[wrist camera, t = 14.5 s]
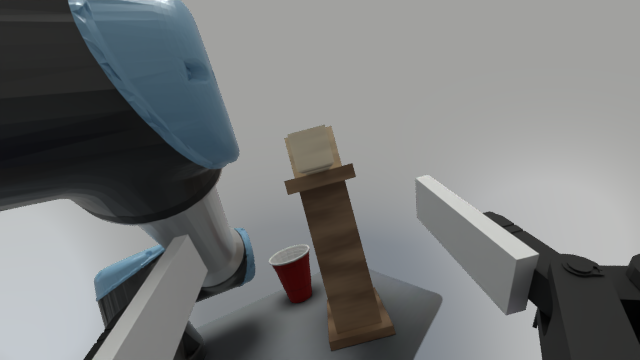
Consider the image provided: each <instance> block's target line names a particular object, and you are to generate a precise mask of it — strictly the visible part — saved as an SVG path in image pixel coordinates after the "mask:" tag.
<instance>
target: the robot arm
mask: <svg viewBox="0 0 640 360" xmlns="http://www.w3.org/2000/svg"><path fill="white" fill-rule="evenodd" d="M238 156H239V148H238V144H237V141H236V138H235V135H234V132H233V129H232V126H231V123H230V120H229V117H228V114H227V111H226V108H225V105H224V102H223V99H222V96H221V93H220V91H219V88H218V85H217V82H216V79H215V76H214V73H213V70H212V67H211V64H210V61H209V59H208V56H207V53H206V50H205V47H204V44H203V42H202V39H201V36H200V33H199V31H198V28H197V25H196V23H195V21H194V18H193V16H192V14H191V13H190V11H189V9H188V8H187V7H186V6H185V4H184V3H183V2H182V1H181V0H0V211H4V210H8V209H13V208H18V207H22V206H27V205H32V204H37V203H42V202H46V201H51V200H57V199H71V200H72V201H74V202H75V203H76V204H78V205H79V206H80V207H82V208H83V209H85V210H86V211H88V212H89V213H91V214H92V215H94V216H96V217H98V218H100V219H102V220H104V221H107V222H111V223H116V224H123V225H138V226H140V227H141V228H142V229H143V230H144V231H145V232H146V233H148V234H149V235H150V236H151V237H152V238H153V239H154V240H155V241H156V242H158V243H159V244H160V245H157V246H154V247H152V248H149V249H147V250H144V251H142V252H139V253H137V254H135V255H132V256H130V257H128V258H126V259H124V260H121V261H119V262H117V263H115V264H112V265H111V266H108V267H106V268H104V269H103V270H101V271H100V272H99V273H98V274H97V275H96V277H95V279H94V284H95V290H96V296H97V298H96V301H98V304H99V308H100V312H101V315H102V319H103V322H104V326H105V330H104V332H103V333H102V334H101V336H100V337H99V338H98V340H97V343H95V344H94V345H93V347H92V348H91V350H90V351H89V353H88V354H87V355H86V357H85V358H84V360H203V359H204V357H205V353H206V349H205V345H204V342H203V339H202V337H201V336H200V334H199V333H198V332H197V331H196V329H195V328H194V327H193V325H192V324H191V323H190V321H189V320H188V319H189V317H190V314H191V312H192V310H193V307H194V304H195V303H196V302H199V301H202V300H204V299H207V298H209V297H212V296H214V295H217V294H220V293H222V292H225V291H228V290H230V289H233V288H235V287H240V286H242V285H243V284H245V283H247V282H249V281H251V280H252V279H253V278H254V276H255V264H254V255H253V250H252V246H251V243H250V240H249V237H248V234H247V232H246V231H245V229H243V228H234V229H233V228H231V227H229V226H228V223H227V219H226V217H225V213H224V210H223V207H222V204H221V201H220V198H219V195H218V192H217V189H216V184H217V182H218V181H219V178H220V176H221V173H222V169H223V167H225V166H226V165H227V164H228V163H232V162H234V161H236V160H237V158H238ZM415 179H416V207H417V218H418V219H419V220H420V221H421V222H422V223H423V225H424V226H425V227H426V228H427V229H428V230H429V231H430V232H431V233H432V235H433V236H434V237H435V238H436V239H437V240H438V241H439V242H440V243H441V244H442V246H443V247H444V248H445V249H446V250H447V251H448V252H449V253H450V254H451V255H452V256H453V258H454V259H455V260H456V261H457V262H458V263H459V264H460V265H461V266H462V267H463V269H464V270H465V271H466V272H467V273H468V274H469V275H470V276H471V277H472V279H473V280H474V281H475V282H476V283H477V284H478V285H479V286H480V287H481V288H482V290H483V291H484V292H485V293H486V294H487V295H488V296H489V297H490V298H491V299H492V300H493V302H494V303H495V304H496V305H497V306H498V307H499V308H500V309H501V310H502V312H503V313H504V314H505V315H509V314H512V313H516V312H520V311H523V310H526V306H527V302H528V299H529V300H530V301H531V302H533V304H535V305H536V306H537V307H538V308H537V312H536V315H535V319H534V322H533V327H534V328H537V325H538V330H539V338H540V346H541V353H542V360H640V254H638V255H635V256H633V257H632V259H631V261H630V263H629V265H628V266H599V265H598V264H597V263H595V262H593V261H591V260H588V259H586V258H584V257H580V256H576V255H571V254H559V253H558V252H556V251H555V250H553V249H552V248H550V247H549V246H547V245H545V244H544V243H543V242H541V241H540V240H538V239H537V238H535V237H533V236H532V235H530V234H529V233H527V232H526V231H523V229H521V228H520V227H518V226H517V225H514V223H512V222H511V221H509V220H508V219H506V218H505V217H503V216H501V215H498V214H495V213H493V212H486V213H481V212H480V211H478V210H477V209H475V208H474V207H473V206H471V205H470V204H468V203H467V202H466V201H464V200H463V199H461V198H460V197H459V196H457V195H456V194H454V193H453V192H452V191H450V190H449V189H447V188H446V187H445V186H443V185H442V184H440V183H439V182H438V181H436V180H435V179H433V178H432V177H430V176H429V175H425V176H421V177H418V178H415Z"/></svg>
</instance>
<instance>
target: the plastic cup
mask: <svg viewBox="0 0 640 360" xmlns="http://www.w3.org/2000/svg"><path fill="white" fill-rule="evenodd" d="M309 250H310V249H309V246H308V245H304V244H303V245H295V246H291V247H288V248H286V249H283V250H281V251H279V252H277V253H276V254H274V255H273V256H272V257H271V258H270V259H269V263H270V264H271V265H272V266H273V268H274V269H275V271H276V272H277V274H278V277H279V279H280V281H281V283H282V285H283V287H284V289H285V291H286V293H287V295H288V297H289V299H290V301H291V302H292V303H300V302H303V301H305V300H307V299H308V298H310V297H311V295H312V287H311V275H310V266H309Z"/></svg>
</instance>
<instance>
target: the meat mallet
mask: <svg viewBox="0 0 640 360" xmlns="http://www.w3.org/2000/svg"><path fill="white" fill-rule="evenodd" d="M285 143H286V147H287V150H288V154H289V158H290V161H291V165H292V169H293V173H294V176H295V178H299V177H303V176H306V175H310V174H314V173H318V172H322V171H325V170H329V169H333V168H337V167H340V166H342V165H341V161H340V157H339V154H338V150H337V146H336V143H335V138H334V135H333V131H332V128H331V126H329V127H325V125H322V126H318V127H314V128H310V129H307V130H303V131H299V132H295V133H292V134H288V138H285Z"/></svg>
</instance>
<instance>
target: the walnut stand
mask: <svg viewBox="0 0 640 360" xmlns="http://www.w3.org/2000/svg"><path fill="white" fill-rule="evenodd" d="M354 177H356V176H355V172H354V168H353V164H348V165H344V166H340V167H337V168H333V169H329V170H325V171H322V172H318V173H314V174H310V175H306V176H303V177H299V178H295V179H291V180H288V181H285V186H286V189H287V193H288V195H289V194H293V193H297V192H300V196H301V199H302V203H303V207H304V211H305V214H306V218H307V222H308V226H309V229H310V233H311V237H312V241H313V245H314V248H315V252H316V256H317V260H318V264H319V267H320V271H321V275H322V279H323V282H324V286H325V290H326V294H327V298H328V300H327V311H328V332H329V344H330V348H331V351H333V350H337V349H340V348H344V347H348V346H352V345H356V344H360V343H364V342H367V341H371V340H375V339H379V338H383V337H387V336H390V335H394V334H395V330H394V326H393V324H392V322H391V320H390V318H389V316H388V314H387V312H386V310H385V308H384V306H383V304H382V302H381V299H380V297H379V295H378V293H377V291H376V289H375V287H374V288H373V286H372V282H371V278H370V274H369V270H368V267H367V263H366V259H365V255H364V251H363V248H362V244H361V240H360V236H359V233H358V229H357V225H356V222H355V217H354V214H353V210H352V206H351V202H350V199H349V195H348V191H347V187H346V183H345V180H346V179H350V178H354Z"/></svg>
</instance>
